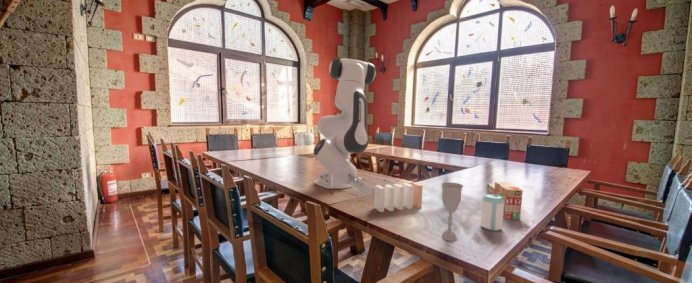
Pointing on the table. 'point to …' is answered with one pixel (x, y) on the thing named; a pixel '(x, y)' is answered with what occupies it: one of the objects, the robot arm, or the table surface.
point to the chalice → (450, 206)
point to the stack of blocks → (508, 198)
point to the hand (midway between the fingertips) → (367, 194)
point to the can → (492, 212)
